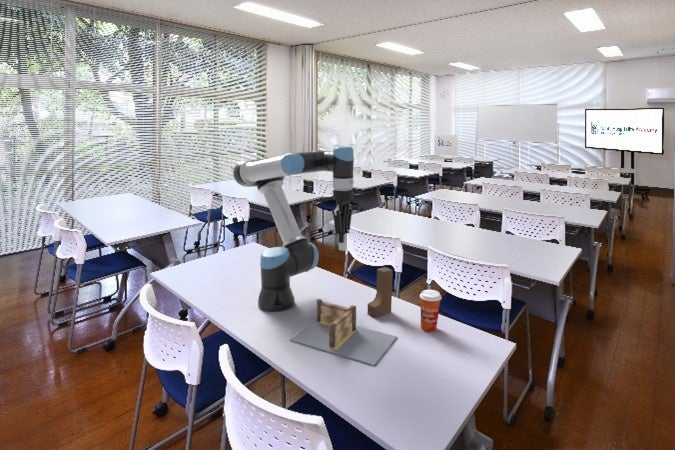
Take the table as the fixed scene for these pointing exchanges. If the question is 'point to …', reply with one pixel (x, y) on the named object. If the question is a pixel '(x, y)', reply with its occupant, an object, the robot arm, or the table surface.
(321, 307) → the fence fixed
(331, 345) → the fence gate
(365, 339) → the card
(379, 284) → the wooden block
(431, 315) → the paper cup
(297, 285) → the table surface
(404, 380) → the table surface
